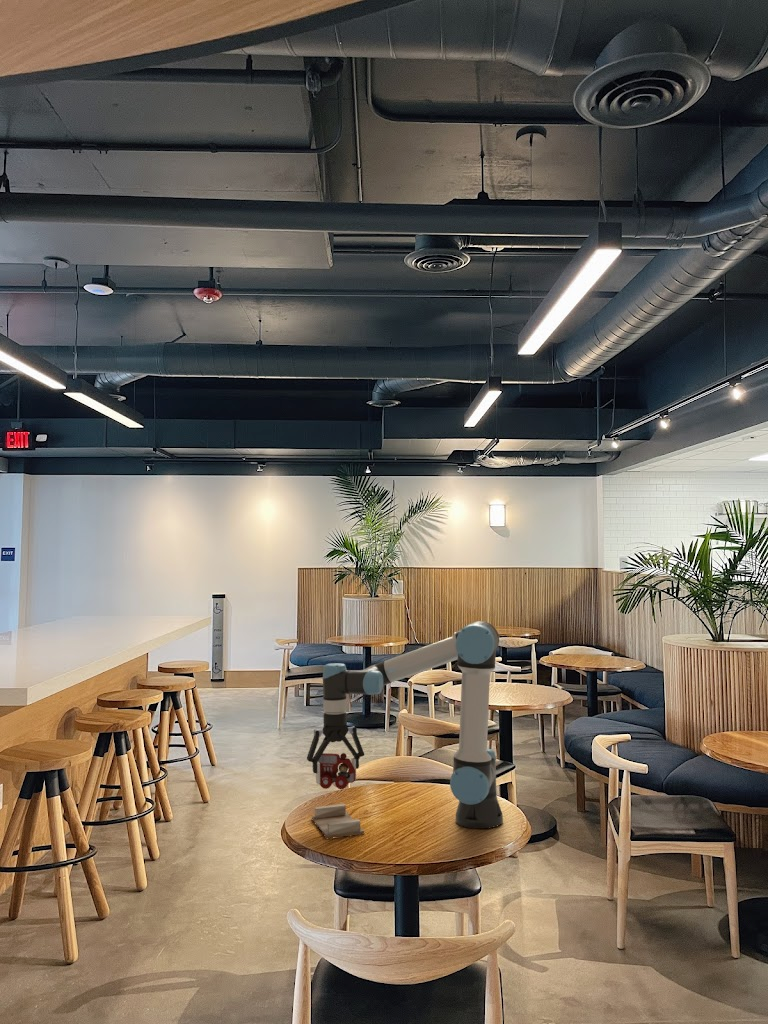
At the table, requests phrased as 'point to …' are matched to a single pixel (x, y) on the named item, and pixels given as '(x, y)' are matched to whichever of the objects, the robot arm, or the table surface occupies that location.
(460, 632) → the robot arm
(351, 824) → the gray jig
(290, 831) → the table surface
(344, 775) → the toy fire truck
